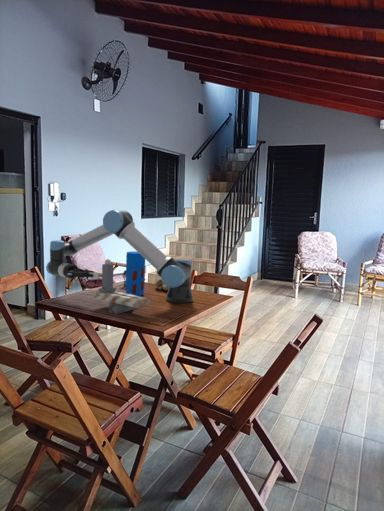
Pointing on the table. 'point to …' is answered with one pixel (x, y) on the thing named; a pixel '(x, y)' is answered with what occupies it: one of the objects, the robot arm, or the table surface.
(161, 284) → the ginger root
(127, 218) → the robot arm
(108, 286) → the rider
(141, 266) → the thermos
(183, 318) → the table surface
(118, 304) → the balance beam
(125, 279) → the watch
